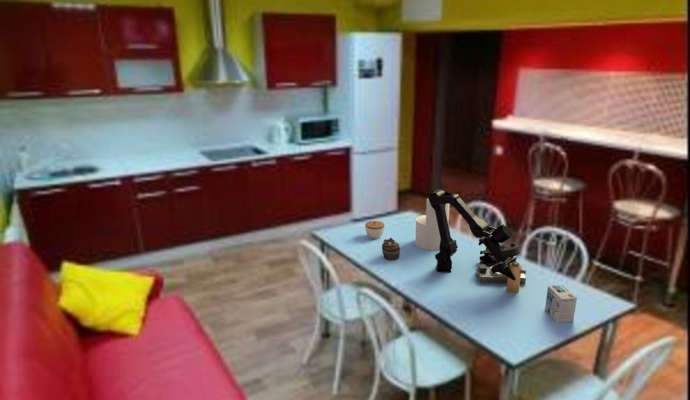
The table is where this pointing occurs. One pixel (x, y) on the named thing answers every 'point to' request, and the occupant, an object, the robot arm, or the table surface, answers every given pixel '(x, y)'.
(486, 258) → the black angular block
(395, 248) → the cupcake
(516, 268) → the tan bottle
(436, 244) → the cylinder
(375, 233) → the lidded jar
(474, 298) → the table surface
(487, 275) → the motor base
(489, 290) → the table surface
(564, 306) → the light bulb box
